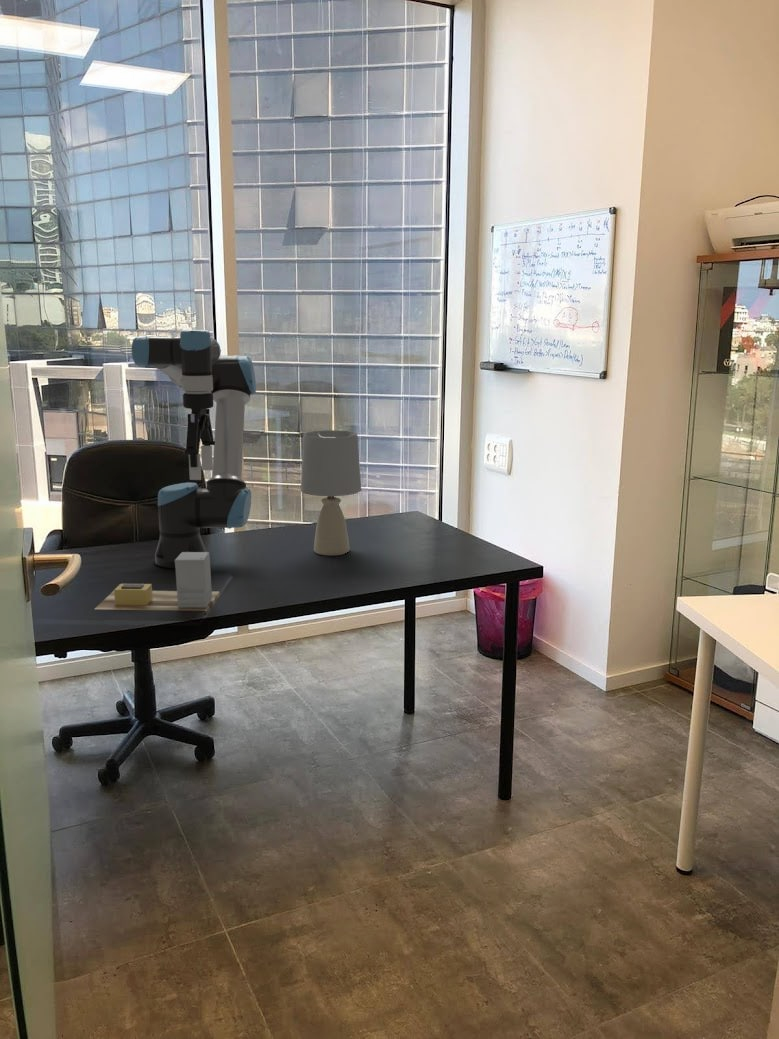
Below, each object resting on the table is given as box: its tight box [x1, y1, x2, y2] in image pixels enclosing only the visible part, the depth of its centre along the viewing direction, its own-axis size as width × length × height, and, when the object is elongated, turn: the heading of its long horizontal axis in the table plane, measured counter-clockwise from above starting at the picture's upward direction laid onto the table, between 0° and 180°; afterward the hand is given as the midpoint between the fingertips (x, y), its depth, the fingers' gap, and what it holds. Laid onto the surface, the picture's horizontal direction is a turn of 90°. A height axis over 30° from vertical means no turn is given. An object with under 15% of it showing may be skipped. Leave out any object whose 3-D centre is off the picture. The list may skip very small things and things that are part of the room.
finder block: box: [113, 583, 153, 605], centre depth 219 cm, size 5×8×4 cm, turn 89°
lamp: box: [300, 429, 362, 557], centre depth 266 cm, size 19×19×37 cm
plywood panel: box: [94, 590, 221, 615], centre depth 221 cm, size 15×28×1 cm, turn 89°
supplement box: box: [174, 551, 213, 608], centre depth 217 cm, size 7×7×13 cm
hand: (201, 474), depth 224 cm, fingers open, 13 cm apart
